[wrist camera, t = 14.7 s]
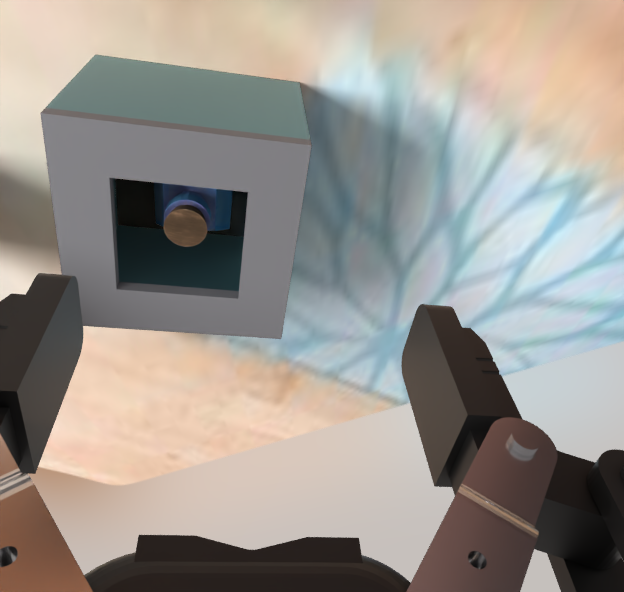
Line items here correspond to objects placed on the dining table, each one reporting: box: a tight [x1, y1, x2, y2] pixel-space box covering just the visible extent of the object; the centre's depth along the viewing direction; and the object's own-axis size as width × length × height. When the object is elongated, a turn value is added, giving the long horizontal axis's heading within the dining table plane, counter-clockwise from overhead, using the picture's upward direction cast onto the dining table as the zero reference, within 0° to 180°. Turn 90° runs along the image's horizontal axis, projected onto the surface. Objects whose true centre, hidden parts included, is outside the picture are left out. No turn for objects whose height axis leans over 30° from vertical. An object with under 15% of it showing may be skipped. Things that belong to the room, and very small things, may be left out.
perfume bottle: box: [154, 182, 233, 247], centre depth 46 cm, size 6×6×12 cm
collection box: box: [41, 55, 312, 339], centre depth 45 cm, size 16×16×14 cm
